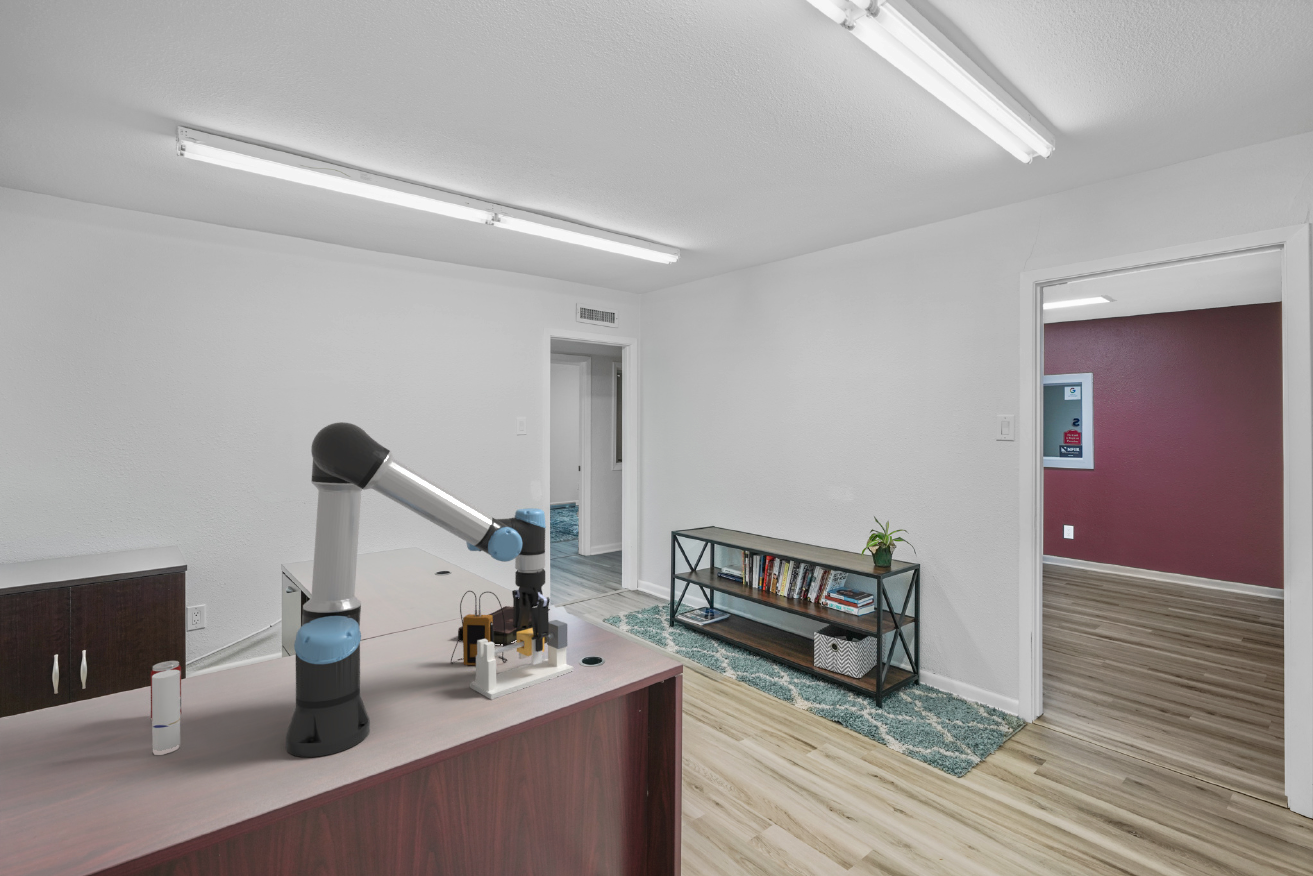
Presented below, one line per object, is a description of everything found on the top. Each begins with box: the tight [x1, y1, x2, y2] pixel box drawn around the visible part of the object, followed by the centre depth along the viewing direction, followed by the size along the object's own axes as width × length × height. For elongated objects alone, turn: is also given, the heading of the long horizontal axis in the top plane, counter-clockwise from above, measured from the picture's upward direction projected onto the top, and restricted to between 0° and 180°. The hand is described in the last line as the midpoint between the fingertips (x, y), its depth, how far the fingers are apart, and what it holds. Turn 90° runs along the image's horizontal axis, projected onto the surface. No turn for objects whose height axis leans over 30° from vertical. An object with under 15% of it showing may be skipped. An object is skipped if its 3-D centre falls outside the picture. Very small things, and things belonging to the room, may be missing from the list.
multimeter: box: [450, 590, 508, 666], centre depth 171 cm, size 15×10×20 cm
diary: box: [457, 605, 551, 646], centre depth 196 cm, size 19×25×5 cm
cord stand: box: [469, 619, 574, 700], centre depth 157 cm, size 24×10×12 cm, turn 135°
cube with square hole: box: [516, 628, 545, 657], centre depth 158 cm, size 5×5×5 cm
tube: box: [151, 670, 181, 751], centre depth 122 cm, size 4×4×15 cm
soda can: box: [150, 660, 182, 719], centre depth 135 cm, size 5×5×12 cm
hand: (530, 660), depth 159 cm, fingers closed on cube with square hole, 5 cm apart
